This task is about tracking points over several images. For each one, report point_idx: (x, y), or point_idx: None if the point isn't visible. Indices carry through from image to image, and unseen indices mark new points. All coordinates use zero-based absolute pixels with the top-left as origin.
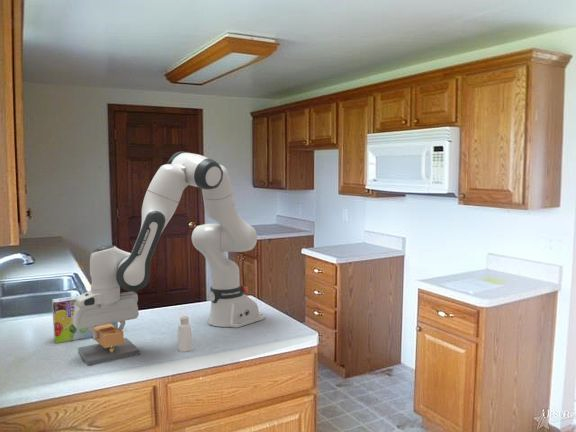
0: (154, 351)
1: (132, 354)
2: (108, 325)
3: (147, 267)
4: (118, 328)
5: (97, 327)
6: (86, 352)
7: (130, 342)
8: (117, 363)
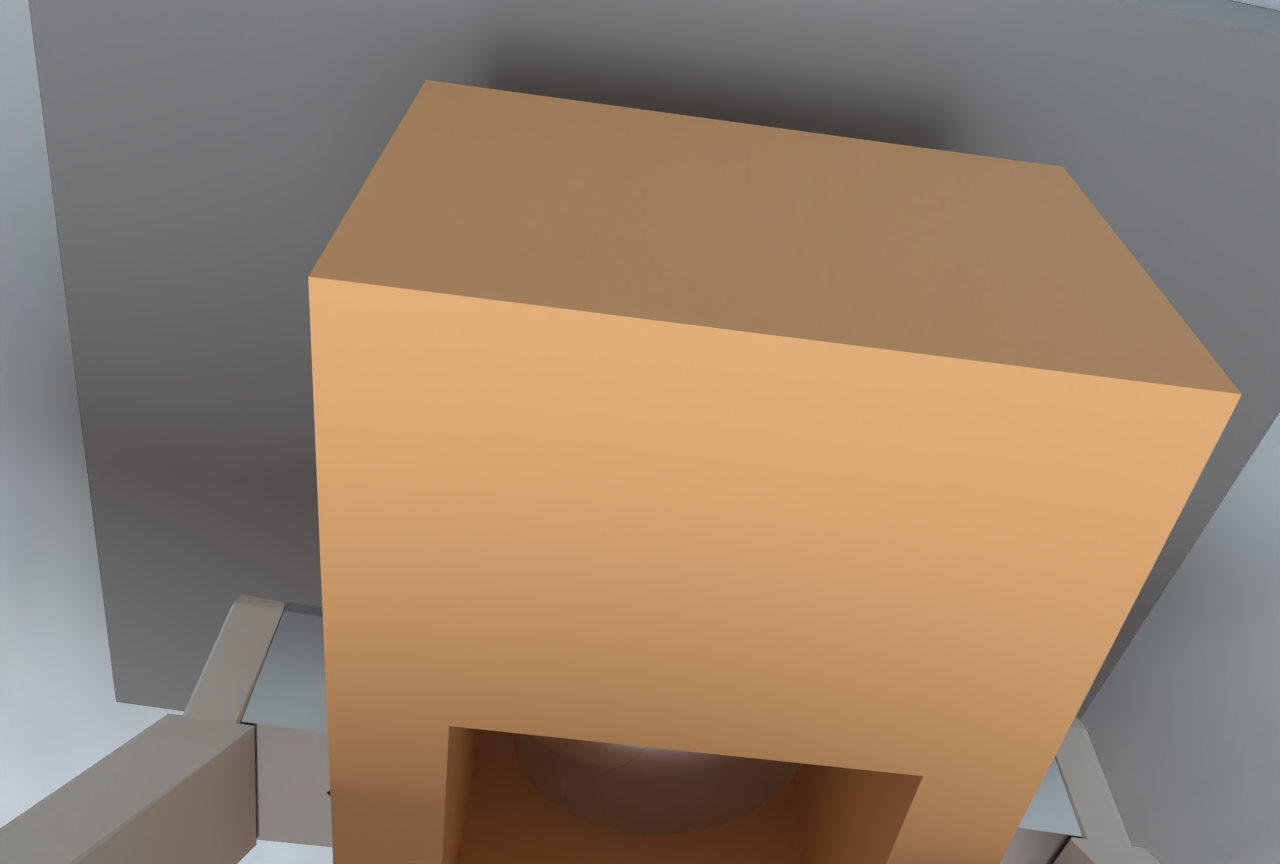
0: (1204, 810)
1: None
2: (971, 567)
3: None
4: (1036, 852)
5: (493, 458)
6: (168, 321)
7: (1218, 471)
8: None
